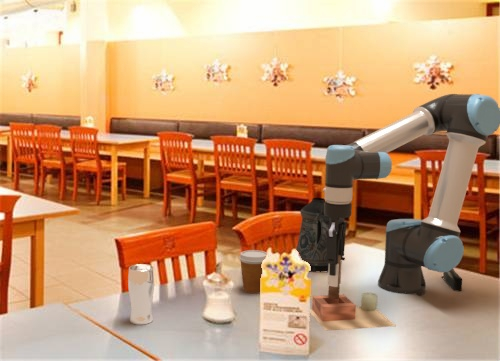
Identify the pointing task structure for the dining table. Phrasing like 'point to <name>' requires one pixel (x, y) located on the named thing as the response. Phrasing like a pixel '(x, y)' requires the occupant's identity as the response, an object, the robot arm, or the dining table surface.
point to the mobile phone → (453, 279)
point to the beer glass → (141, 293)
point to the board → (359, 322)
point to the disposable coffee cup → (251, 269)
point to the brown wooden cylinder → (334, 291)
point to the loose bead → (369, 301)
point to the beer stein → (314, 235)
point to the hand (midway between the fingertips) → (334, 284)
